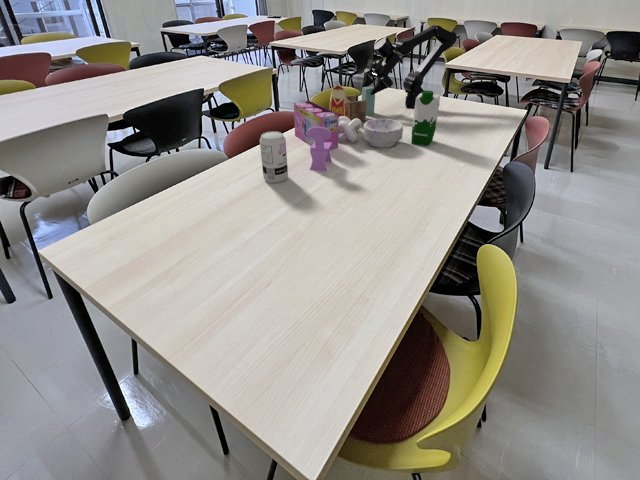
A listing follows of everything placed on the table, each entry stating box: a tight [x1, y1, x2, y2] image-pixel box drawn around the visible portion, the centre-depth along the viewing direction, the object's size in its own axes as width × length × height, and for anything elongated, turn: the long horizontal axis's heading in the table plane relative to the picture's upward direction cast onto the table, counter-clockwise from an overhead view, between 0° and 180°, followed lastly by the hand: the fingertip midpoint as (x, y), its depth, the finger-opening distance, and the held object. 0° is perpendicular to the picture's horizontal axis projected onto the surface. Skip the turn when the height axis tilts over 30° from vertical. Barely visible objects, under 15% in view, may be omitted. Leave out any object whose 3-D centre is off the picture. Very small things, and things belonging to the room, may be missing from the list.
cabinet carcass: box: [347, 94, 367, 123], centre depth 180 cm, size 10×11×10 cm
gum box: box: [293, 100, 339, 151], centre depth 156 cm, size 24×8×14 cm, turn 31°
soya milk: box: [410, 90, 441, 147], centre depth 151 cm, size 9×9×20 cm
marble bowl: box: [363, 118, 404, 149], centre depth 154 cm, size 15×15×8 cm
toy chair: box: [308, 126, 333, 172], centre depth 136 cm, size 8×9×15 cm
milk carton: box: [328, 81, 349, 133], centre depth 166 cm, size 9×9×20 cm
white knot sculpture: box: [338, 116, 362, 144], centre depth 158 cm, size 11×12×9 cm
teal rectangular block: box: [361, 85, 376, 116], centre depth 186 cm, size 5×4×12 cm
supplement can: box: [259, 130, 289, 184], centre depth 127 cm, size 8×8×15 cm
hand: (366, 92), depth 183 cm, fingers open, 9 cm apart
